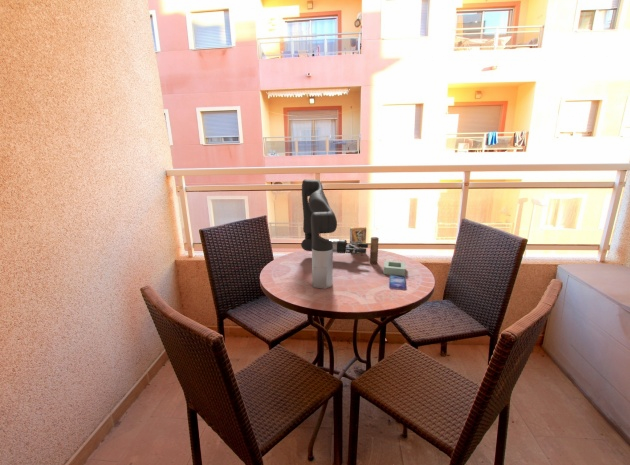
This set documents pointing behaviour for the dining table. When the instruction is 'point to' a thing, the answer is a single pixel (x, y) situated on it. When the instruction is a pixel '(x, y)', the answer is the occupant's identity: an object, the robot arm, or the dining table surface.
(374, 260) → the dowel
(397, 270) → the square frame
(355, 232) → the candy box
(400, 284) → the smartphone
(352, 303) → the dining table surface
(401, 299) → the dining table surface
